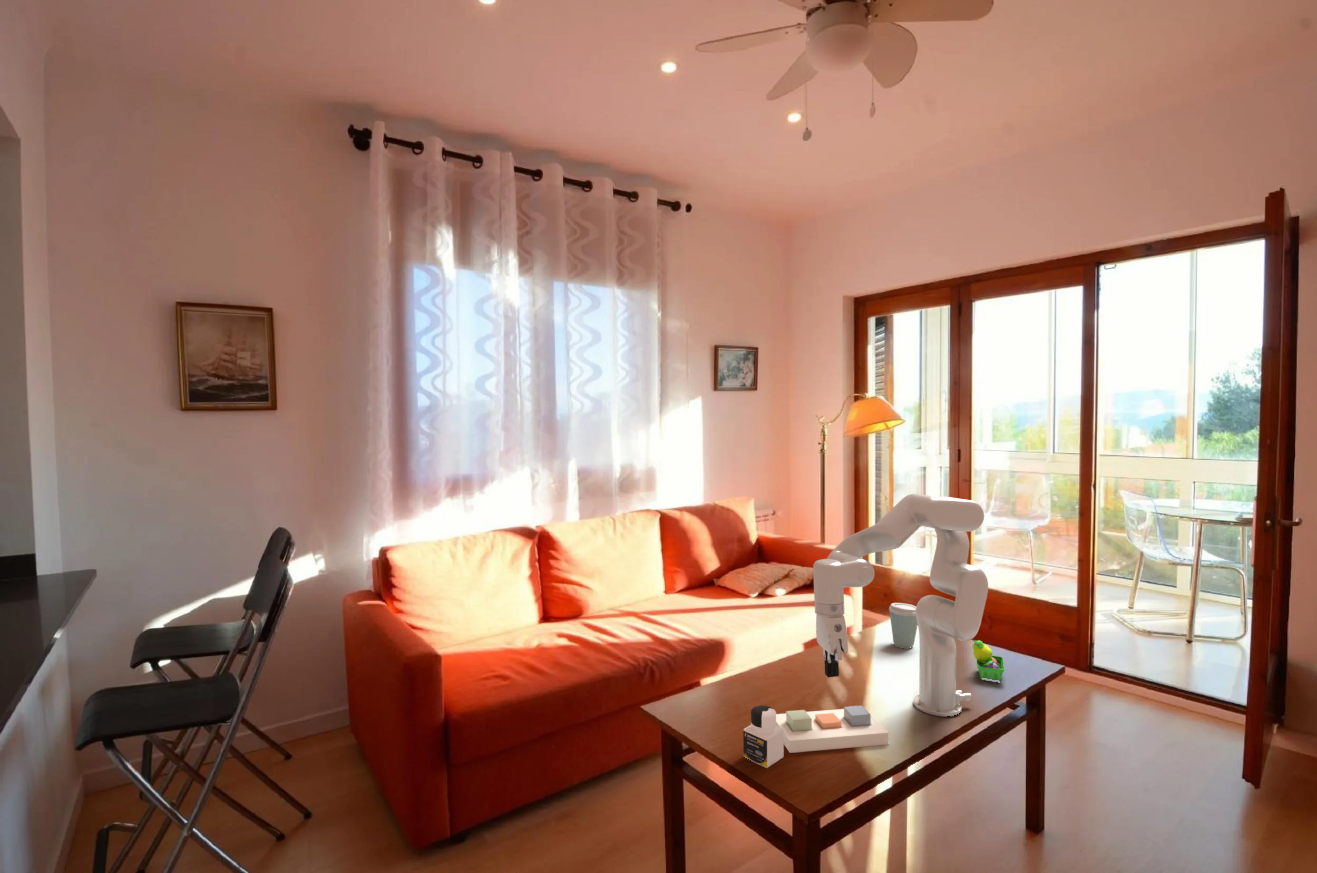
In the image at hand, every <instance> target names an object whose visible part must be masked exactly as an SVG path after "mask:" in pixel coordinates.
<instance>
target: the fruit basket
mask: <svg viewBox="0 0 1317 873" xmlns="http://www.w3.org/2000/svg"><path fill="white" fill-rule="evenodd" d="M973 642H974V643H972V650H973V652H972V653H973V656H974V658H975V659H976V666H977V669H978V672H979V676H980V677H979V678H980V679H981V678H987V679H992V680H999V681H1000V680H1002V677H1003V673H1004V671H1005V664H1004V663H1005V662H1004V657H1002V656H998V655H992V654H993V650H992V649H991V648H990V647H989V646H988V645H987V644H985V643H983V641H982V640H974V641H973ZM1000 682H1001V681H1000Z"/></svg>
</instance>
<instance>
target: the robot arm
mask: <svg viewBox="0 0 1317 873" xmlns="http://www.w3.org/2000/svg"><path fill="white" fill-rule="evenodd" d="M984 520H985V512H984V509H983V508H982V506H981V505H980V503H978V502H976V501H974V500H970V499H965V498H964V499H963V498H958V497H951V496H950V497H949V496H945V495H944V496H943V495H935V496H932V495H927V494H919V493H912V494H910V493H909V494H907V495H905V496H904V497H903V498H901V500H899V502H897V504H895V505H894V506H893V507H892V508H891V509H890V510H889V511H888V512H887V513H886V514H884V516H883V517H882V518H881V519H880V520H879V521H877V522H876V523H875V524H874V525H871V526H869V527H866V528H863V529H862V530H860V531H858V532H855V533H853V534H852V535H849V536H848V537H846V538H845V539H843V540H842V541H841V542H840V543H839V544H837V545H836V546H835V548H834V549H833V550H831V552H830V553H829V555H828V556H827V557H826V558H823V559H818V560H816V561H815V562H814V563H813V565H812V566H813V567H812V569H813V570H812V571H813V574H812V575H813V592H814V593H813V598H814V599H813V600H814V613H815V614H816V616H815V632H816V633H815V635H816V642H817V644H818V646H820V647H821V648H822V653H823V659H824V674H825V676H826V677H827V678H834V677H835V678H836V677H839V676H840V672H839V671H840V668H839V666H840V665H839V662H840V661H842V660H843V656H842V653H844V654H848V653H849V643H848V642H849V641H848V632H847V624H846V619H845V616H844V615H845V593H844V590H845V589H844V588H863V587H866V586H868V585H870V583H872V581H873V580H874V578H875V569H874V566H873V565H872V563H870V562H869V560H866V559H864V558H863V557H865V556H867V555H871V554H873V553H879V552H880V553H881V552H889V551H892V550H896V549H899V548H901V547H902V546H903V544H905V542H906V541H907V540H909V538H910V537H911V536H912V535H914V534H915V533H916V532H917V530H919V528H921V527H926V528H930V529H934V531H935V534H936V545H935V550H934V551H935V552H934V555H933V560H932V562H931V568H930V573H929V583H930V585H931V587H933V589H935V590H938V591H939V592H941V593H944V594H947V595H950V596H953V597H955V600H952V599H950V598H947V597H946V598H945V597H943V596H939V595H935V594H929V595H928V594H927V595H925V596H923V597H921V598H920V599H919V600H918V602H917V604H916V618H917V623H918V625H917V629H918V635H919V636H918V637H919V680H918V681H919V684H918V685H919V692H918V693H919V694H917V695H916V696H914V697H913V706H915V708H916V709H918V710H919V711H921V712H924V713H925V714H929V715H931V716H935V717H943V718H944V717H947V716H950V717H955V716H954V715H956V716H958V715H960V714H961V713H962V712H963V710H962V709H963V706H962V705H961V702H963V701H966V702H967V701H972V700H973V696H972V694H971V693H970V692H965V693H963V691H962V690H956V689H957V645H956V641H955V639H956V640H958V641H961V642H968V641H971V640H973V639H974V638H975V637H976V636H977V634H978V632H979V629H980V627H981V624H982V619H983V616H984V610H985V606H986V602H987V598H988V593H989V582H988V576H987V575H986V573H985V572H984V571H983V570H982V569H981V568H979V567H977V566H975V565H971V564H968V559H969V551H970V540H969V536H968V533H967V532H974V531H976V530H977V529H979V528H980V527H981V526H982V525H983V523H984ZM960 712H961V713H960ZM959 713H960V714H959ZM957 714H958V715H957Z"/></svg>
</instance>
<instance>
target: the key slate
mask: <svg viewBox="0 0 1317 873" xmlns="http://www.w3.org/2000/svg"><path fill="white" fill-rule="evenodd" d="M843 709H844V719H845V720H846V721H847V722H848V723H849V725H850V726H851V727H858V726H870V725H871V716H872V715H871V713H870V712H869V711H868V710H867V709H866V708H865V707H864V706H863V705H850V706H843Z"/></svg>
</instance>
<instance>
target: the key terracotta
mask: <svg viewBox="0 0 1317 873" xmlns="http://www.w3.org/2000/svg"><path fill="white" fill-rule="evenodd" d="M815 721H816V722H817V724H818V725H819V726H820V727H821V729H833V728H841V721H840V720H839V719H838V718H837V717H836V716H835V714H834V713H828V714H815Z"/></svg>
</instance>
